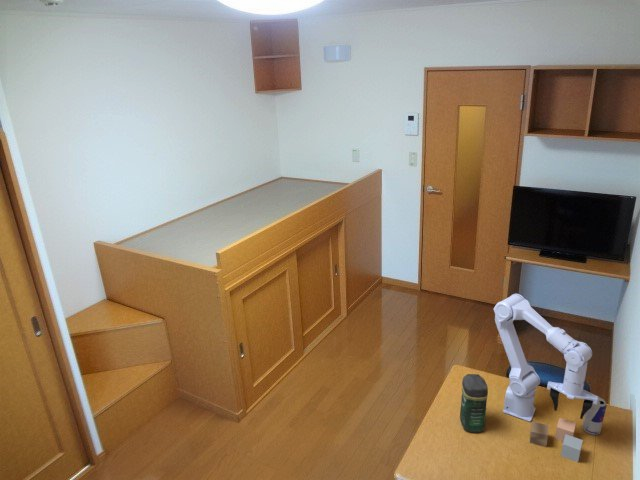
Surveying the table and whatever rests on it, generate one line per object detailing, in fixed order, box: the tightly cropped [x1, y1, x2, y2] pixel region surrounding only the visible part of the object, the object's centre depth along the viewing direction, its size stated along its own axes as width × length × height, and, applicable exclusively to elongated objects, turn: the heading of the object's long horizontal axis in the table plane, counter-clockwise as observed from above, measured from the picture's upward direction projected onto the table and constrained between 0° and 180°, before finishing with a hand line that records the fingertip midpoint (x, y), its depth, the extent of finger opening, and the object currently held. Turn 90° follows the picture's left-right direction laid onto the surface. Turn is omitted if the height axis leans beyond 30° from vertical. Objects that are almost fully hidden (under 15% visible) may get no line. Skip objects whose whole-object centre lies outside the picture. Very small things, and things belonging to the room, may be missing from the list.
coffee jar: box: [459, 373, 489, 433], centre depth 167 cm, size 10×8×19 cm
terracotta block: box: [554, 417, 577, 442], centre depth 162 cm, size 5×5×5 cm
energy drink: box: [582, 396, 607, 436], centre depth 163 cm, size 5×5×12 cm
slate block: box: [560, 434, 584, 463], centre depth 155 cm, size 5×5×5 cm
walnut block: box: [529, 420, 549, 448], centre depth 161 cm, size 5×5×5 cm
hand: (568, 412), depth 159 cm, fingers open, 7 cm apart
